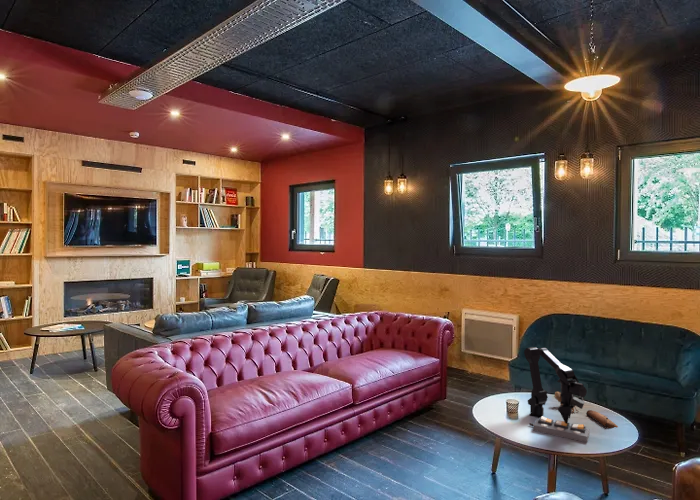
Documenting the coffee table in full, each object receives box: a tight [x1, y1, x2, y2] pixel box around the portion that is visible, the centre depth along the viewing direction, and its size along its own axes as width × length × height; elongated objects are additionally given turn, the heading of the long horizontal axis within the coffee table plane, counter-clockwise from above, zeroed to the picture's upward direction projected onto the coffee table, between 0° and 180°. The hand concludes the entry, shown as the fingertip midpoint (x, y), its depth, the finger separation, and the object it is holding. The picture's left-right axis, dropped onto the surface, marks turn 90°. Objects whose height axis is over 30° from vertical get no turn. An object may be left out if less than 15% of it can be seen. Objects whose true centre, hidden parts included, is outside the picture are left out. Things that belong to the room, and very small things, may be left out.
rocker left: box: [539, 415, 553, 423], centre depth 247 cm, size 5×4×1 cm
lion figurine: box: [553, 391, 579, 413], centre depth 274 cm, size 15×5×9 cm, turn 38°
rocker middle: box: [555, 419, 569, 426], centre depth 243 cm, size 5×4×1 cm
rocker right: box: [572, 423, 585, 429], centre depth 238 cm, size 5×4×1 cm
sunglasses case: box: [586, 409, 619, 429], centre depth 256 cm, size 18×7×7 cm
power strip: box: [529, 417, 590, 443], centre depth 242 cm, size 29×10×4 cm, turn 56°
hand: (567, 420), depth 245 cm, fingers open, 8 cm apart
